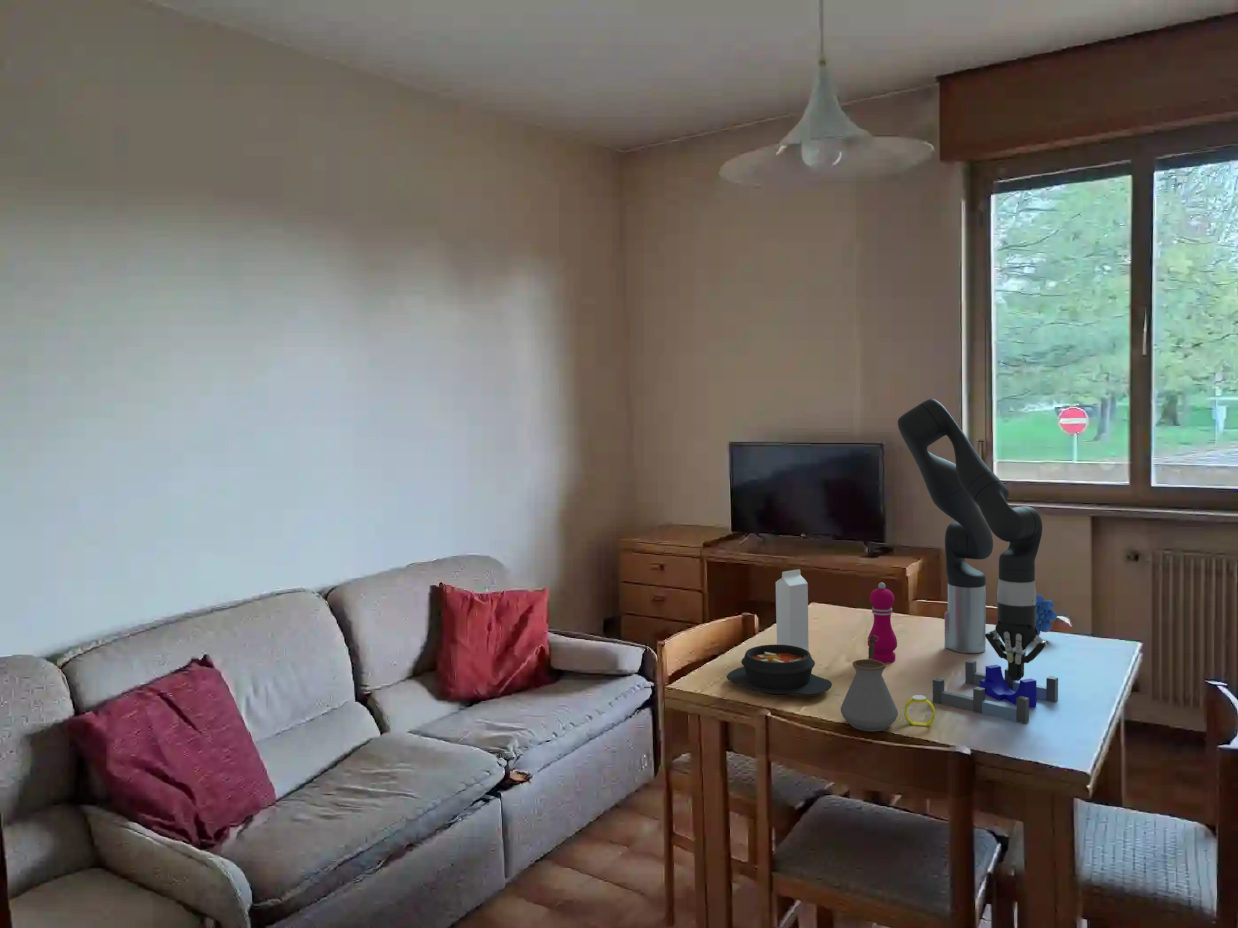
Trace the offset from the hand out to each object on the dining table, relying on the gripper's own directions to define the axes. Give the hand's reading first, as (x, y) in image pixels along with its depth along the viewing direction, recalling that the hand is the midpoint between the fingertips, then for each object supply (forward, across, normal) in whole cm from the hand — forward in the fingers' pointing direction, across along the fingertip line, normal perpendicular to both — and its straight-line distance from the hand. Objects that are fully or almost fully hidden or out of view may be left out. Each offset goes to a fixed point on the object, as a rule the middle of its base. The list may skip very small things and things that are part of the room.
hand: (1016, 679), depth 190 cm
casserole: (+6, -46, -23) cm, 51 cm away
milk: (+6, -58, +2) cm, 59 cm away
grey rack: (+6, -4, 0) cm, 7 cm away
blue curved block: (+6, -3, +3) cm, 7 cm away
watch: (+6, -10, -23) cm, 26 cm away
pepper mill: (+6, -38, +11) cm, 40 cm away
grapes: (+6, -16, +54) cm, 57 cm away
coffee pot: (+6, -20, -25) cm, 33 cm away
